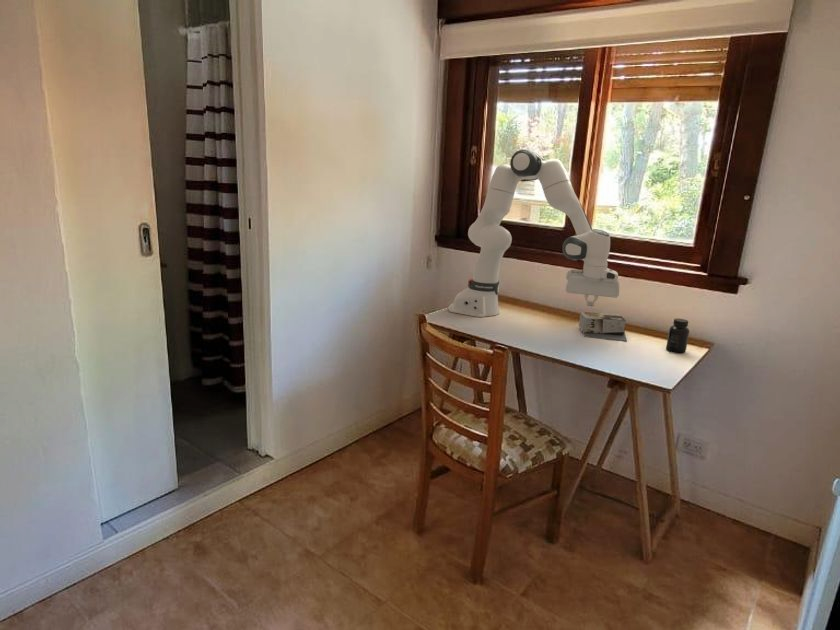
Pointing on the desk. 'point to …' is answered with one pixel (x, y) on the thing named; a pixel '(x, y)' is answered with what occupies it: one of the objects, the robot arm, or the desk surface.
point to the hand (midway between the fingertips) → (590, 305)
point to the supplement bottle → (678, 336)
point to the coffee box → (602, 323)
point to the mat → (607, 336)
